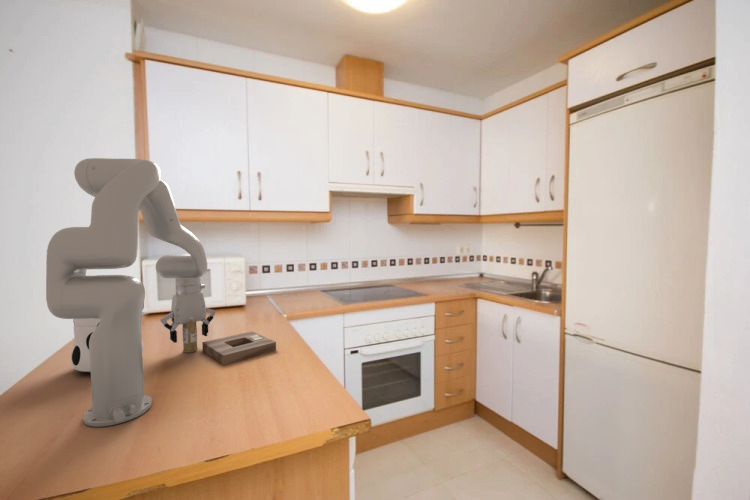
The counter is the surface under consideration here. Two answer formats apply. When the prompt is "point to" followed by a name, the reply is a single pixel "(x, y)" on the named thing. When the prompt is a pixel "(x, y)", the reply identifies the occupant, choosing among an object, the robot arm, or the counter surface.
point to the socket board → (238, 347)
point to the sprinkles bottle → (189, 337)
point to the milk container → (83, 343)
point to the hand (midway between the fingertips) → (189, 338)
